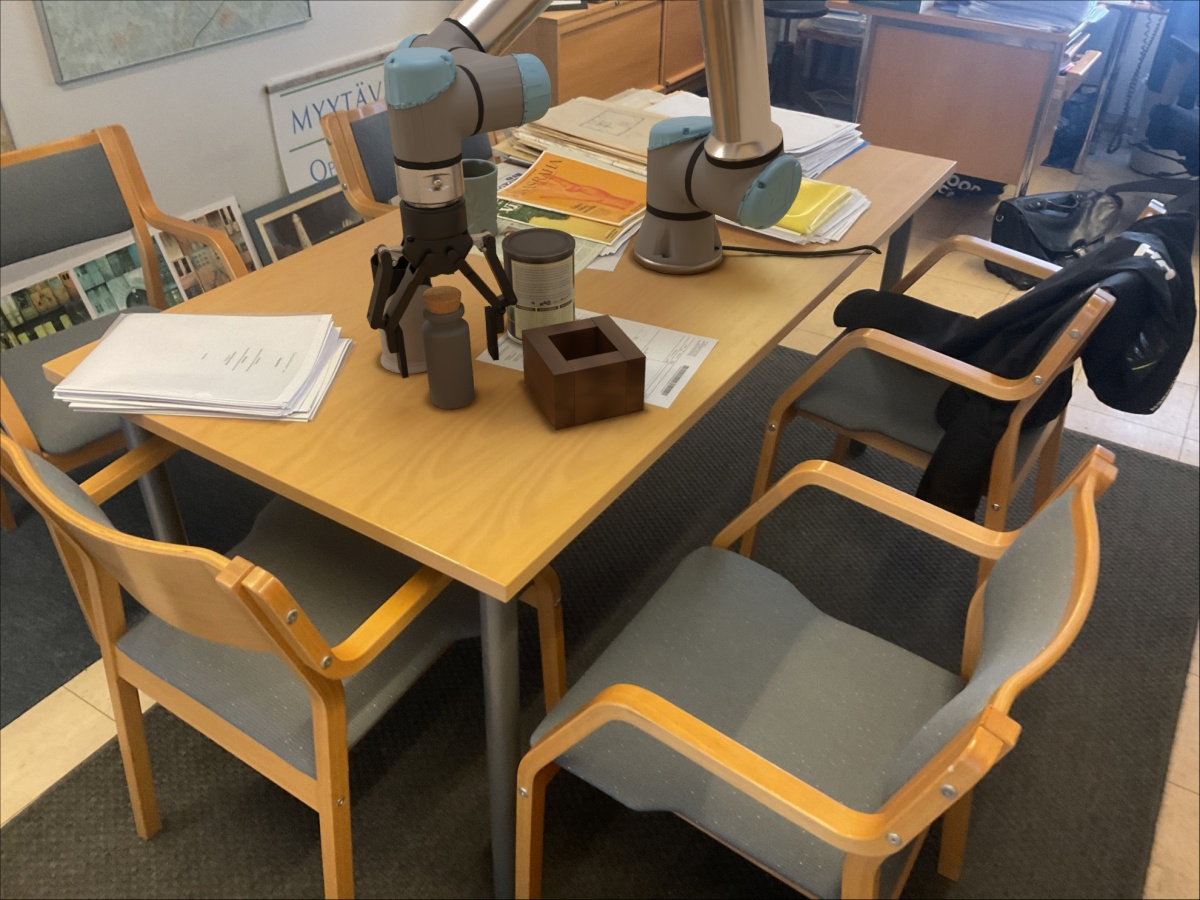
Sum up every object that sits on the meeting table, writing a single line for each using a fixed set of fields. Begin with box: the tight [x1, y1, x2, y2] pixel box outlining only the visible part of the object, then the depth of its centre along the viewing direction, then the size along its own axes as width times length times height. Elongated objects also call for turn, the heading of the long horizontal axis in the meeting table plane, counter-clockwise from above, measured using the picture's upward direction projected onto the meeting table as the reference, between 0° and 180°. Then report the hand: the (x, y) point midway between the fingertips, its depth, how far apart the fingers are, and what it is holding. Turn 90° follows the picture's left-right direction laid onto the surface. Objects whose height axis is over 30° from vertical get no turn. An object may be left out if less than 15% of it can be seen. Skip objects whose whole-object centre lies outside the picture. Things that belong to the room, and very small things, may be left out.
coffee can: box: [501, 227, 577, 346], centre depth 129 cm, size 10×10×14 cm
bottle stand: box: [521, 314, 647, 431], centre depth 116 cm, size 12×12×8 cm
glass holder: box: [369, 246, 434, 375], centre depth 124 cm, size 9×14×15 cm, turn 32°
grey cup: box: [462, 158, 499, 238], centre depth 160 cm, size 10×10×12 cm
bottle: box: [422, 285, 476, 410], centre depth 114 cm, size 6×6×15 cm
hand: (449, 364), depth 115 cm, fingers open, 11 cm apart
